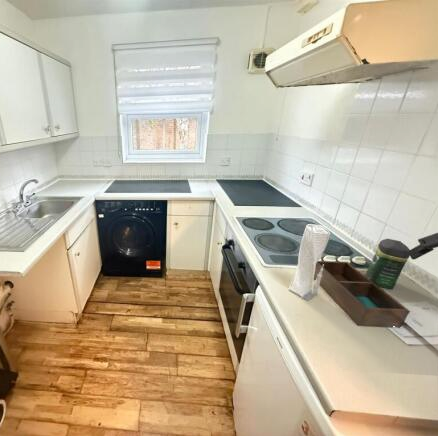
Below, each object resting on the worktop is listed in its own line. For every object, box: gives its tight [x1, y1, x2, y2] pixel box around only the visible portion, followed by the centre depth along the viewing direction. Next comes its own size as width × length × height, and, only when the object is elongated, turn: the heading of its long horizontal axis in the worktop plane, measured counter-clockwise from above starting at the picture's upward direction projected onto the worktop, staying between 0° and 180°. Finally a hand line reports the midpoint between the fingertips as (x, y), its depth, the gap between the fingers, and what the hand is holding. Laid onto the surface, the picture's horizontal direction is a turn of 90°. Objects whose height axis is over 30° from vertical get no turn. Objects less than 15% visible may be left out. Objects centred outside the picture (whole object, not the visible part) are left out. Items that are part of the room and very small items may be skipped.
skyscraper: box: [288, 223, 331, 302], centre depth 83 cm, size 8×8×28 cm
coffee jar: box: [364, 238, 411, 291], centre depth 88 cm, size 10×8×19 cm
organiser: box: [313, 260, 411, 328], centre depth 84 cm, size 13×26×7 cm, turn 176°
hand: (435, 256), depth 73 cm, fingers open, 13 cm apart
